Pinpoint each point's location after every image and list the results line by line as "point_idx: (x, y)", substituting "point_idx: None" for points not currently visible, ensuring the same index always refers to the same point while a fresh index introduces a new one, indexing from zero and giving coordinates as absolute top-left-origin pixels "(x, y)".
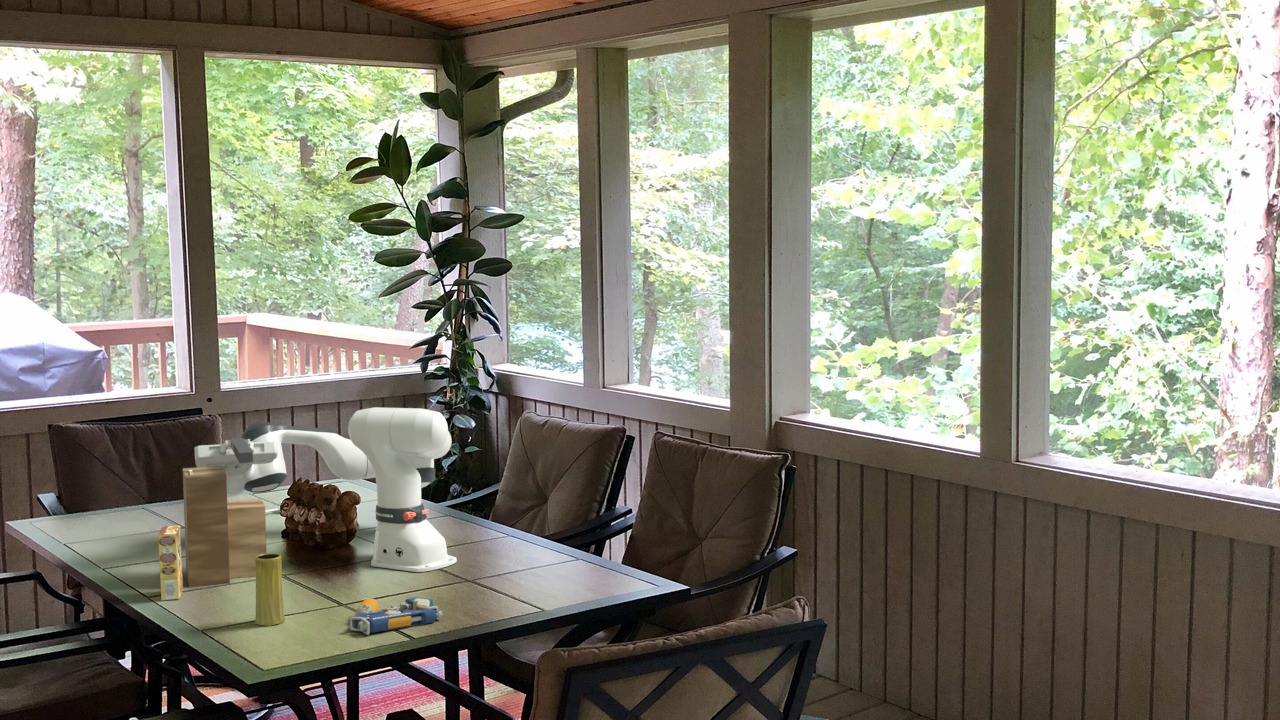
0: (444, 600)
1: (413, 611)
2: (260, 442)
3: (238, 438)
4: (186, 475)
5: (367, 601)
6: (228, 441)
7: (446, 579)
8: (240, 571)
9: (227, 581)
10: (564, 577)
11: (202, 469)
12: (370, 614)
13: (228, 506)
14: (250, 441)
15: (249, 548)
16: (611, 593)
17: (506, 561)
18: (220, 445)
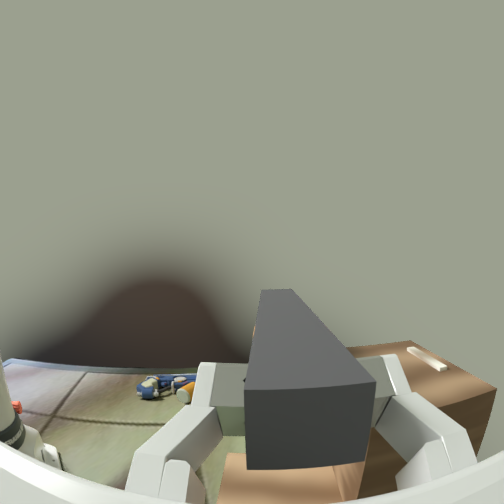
0: (112, 401)
1: (167, 375)
2: (48, 465)
3: (296, 374)
4: (421, 349)
5: (188, 385)
6: (371, 359)
7: (61, 426)
8: None
9: None
10: (12, 387)
11: (419, 383)
12: (195, 380)
13: (323, 471)
14: (180, 411)
15: None
16: (35, 368)
17: None
18: (459, 430)
